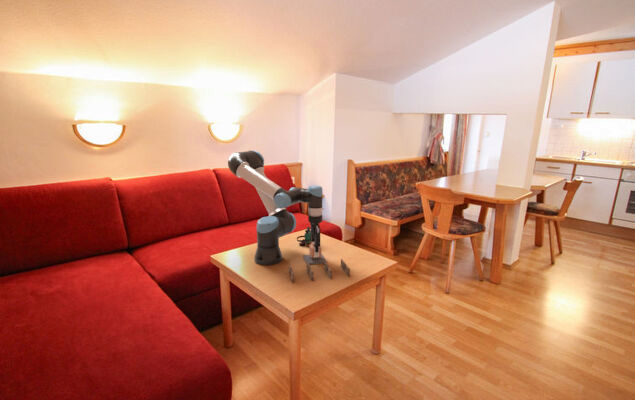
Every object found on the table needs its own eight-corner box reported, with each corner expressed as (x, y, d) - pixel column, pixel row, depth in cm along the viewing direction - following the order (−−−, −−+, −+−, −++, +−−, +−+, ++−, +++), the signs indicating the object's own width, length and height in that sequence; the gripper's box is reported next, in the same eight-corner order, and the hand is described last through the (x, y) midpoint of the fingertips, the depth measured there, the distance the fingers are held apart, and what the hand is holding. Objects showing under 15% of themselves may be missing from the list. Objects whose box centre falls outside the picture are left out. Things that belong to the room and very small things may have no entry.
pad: (303, 256, 181) (303, 255, 181) (321, 255, 184) (321, 253, 184) (307, 265, 171) (307, 263, 171) (326, 263, 173) (327, 261, 173)
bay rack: (288, 271, 163) (288, 264, 162) (342, 266, 170) (342, 259, 169) (292, 282, 152) (292, 275, 151) (349, 276, 159) (350, 269, 158)
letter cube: (309, 253, 179) (309, 244, 177) (318, 253, 180) (319, 243, 178) (311, 257, 173) (311, 248, 172) (321, 257, 175) (321, 247, 173)
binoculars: (297, 226, 203) (312, 226, 201) (299, 242, 205) (314, 242, 203) (293, 231, 194) (309, 230, 192) (295, 247, 196) (311, 247, 194)
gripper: (326, 219, 163) (326, 261, 169) (317, 209, 181) (317, 248, 186) (312, 220, 161) (312, 262, 167) (305, 210, 179) (305, 249, 184)
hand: (315, 254), depth 176 cm, fingers closed on letter cube, 5 cm apart
